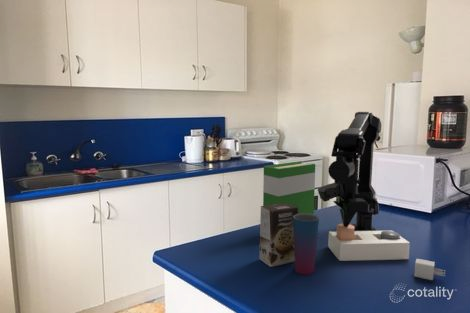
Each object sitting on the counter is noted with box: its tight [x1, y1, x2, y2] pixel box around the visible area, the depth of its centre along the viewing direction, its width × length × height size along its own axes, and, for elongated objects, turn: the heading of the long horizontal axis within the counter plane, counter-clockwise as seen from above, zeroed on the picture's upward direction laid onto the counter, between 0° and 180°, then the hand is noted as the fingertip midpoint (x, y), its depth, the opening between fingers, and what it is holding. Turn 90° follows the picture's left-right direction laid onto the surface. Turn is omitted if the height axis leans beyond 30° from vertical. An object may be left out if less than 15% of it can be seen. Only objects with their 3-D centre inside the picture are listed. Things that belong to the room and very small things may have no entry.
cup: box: [293, 214, 320, 276], centre depth 100 cm, size 7×7×15 cm
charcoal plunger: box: [381, 230, 401, 240], centre depth 113 cm, size 5×5×6 cm
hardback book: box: [262, 160, 316, 215], centre depth 130 cm, size 18×7×24 cm, turn 127°
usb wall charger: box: [413, 258, 446, 281], centre depth 97 cm, size 4×7×4 cm, turn 60°
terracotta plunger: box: [335, 223, 356, 240], centre depth 112 cm, size 5×5×6 cm
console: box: [327, 230, 411, 262], centre depth 113 cm, size 11×21×5 cm, turn 93°
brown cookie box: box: [259, 203, 298, 268], centre depth 106 cm, size 9×6×16 cm
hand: (345, 226), depth 112 cm, fingers closed, pressing on terracotta plunger
